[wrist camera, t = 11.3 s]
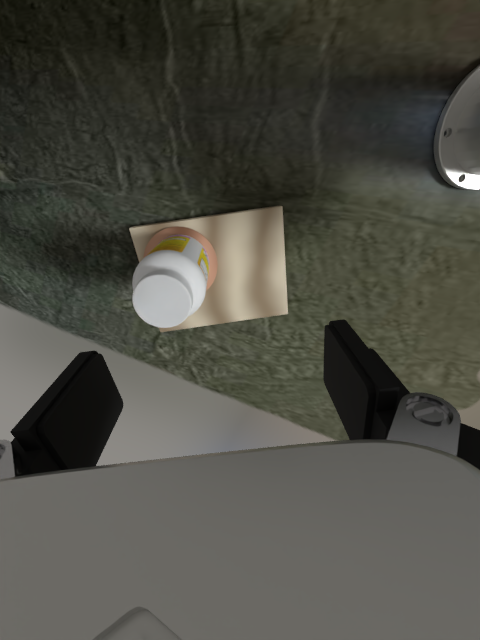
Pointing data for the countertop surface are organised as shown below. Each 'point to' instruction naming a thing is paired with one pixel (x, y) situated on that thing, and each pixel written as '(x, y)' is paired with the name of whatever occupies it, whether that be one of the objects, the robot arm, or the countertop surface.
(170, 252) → the supplement bottle
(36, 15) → the countertop surface
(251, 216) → the seat board
